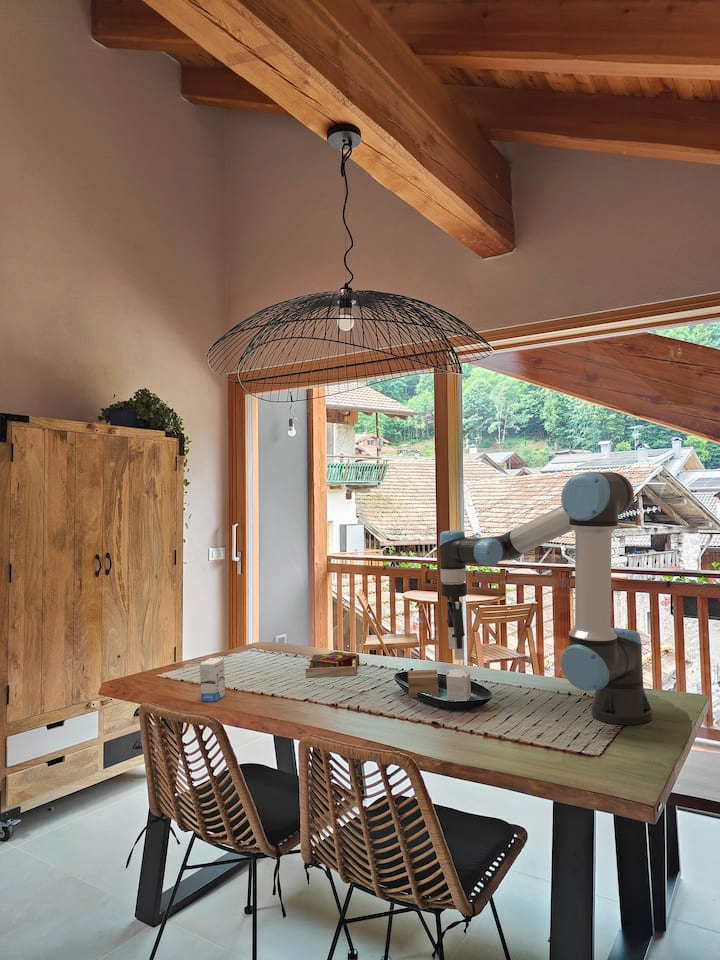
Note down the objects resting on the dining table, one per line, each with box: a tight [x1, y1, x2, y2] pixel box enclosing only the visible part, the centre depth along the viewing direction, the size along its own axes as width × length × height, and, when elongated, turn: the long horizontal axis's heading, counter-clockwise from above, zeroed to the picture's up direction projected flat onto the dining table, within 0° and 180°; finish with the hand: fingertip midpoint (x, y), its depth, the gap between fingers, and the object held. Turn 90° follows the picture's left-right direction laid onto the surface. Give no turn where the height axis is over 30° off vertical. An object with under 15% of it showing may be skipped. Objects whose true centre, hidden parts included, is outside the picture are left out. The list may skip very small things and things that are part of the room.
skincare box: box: [446, 671, 472, 702], centre depth 206 cm, size 6×6×7 cm
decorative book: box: [310, 650, 360, 668], centre depth 249 cm, size 11×16×5 cm
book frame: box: [305, 652, 357, 679], centre depth 249 cm, size 22×17×3 cm
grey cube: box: [445, 668, 467, 681], centre depth 219 cm, size 5×5×5 cm
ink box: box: [199, 657, 226, 703], centre depth 218 cm, size 9×5×12 cm, turn 168°
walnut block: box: [407, 669, 440, 698], centre depth 214 cm, size 9×9×6 cm
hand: (456, 654), depth 206 cm, fingers open, 13 cm apart
